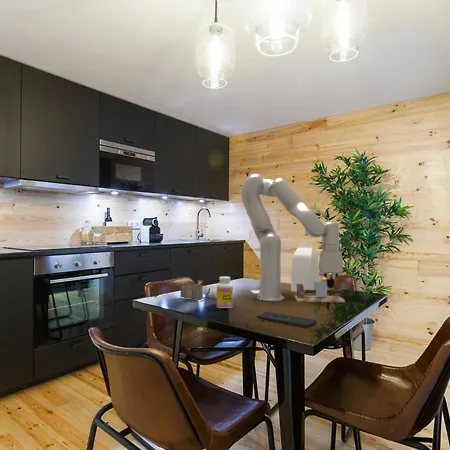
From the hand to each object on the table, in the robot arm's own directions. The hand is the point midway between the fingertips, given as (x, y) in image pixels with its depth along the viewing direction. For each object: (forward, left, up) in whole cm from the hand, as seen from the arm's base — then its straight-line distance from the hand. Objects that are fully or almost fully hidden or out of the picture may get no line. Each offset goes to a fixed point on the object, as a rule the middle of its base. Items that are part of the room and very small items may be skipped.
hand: (330, 287), depth 157 cm
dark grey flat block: (-24, -39, -7) cm, 46 cm away
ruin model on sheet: (-65, -5, -7) cm, 65 cm away
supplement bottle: (-48, -21, -6) cm, 53 cm away
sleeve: (-4, 0, -4) cm, 6 cm away
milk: (-8, +24, -6) cm, 26 cm away
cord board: (-5, 0, -6) cm, 8 cm away
